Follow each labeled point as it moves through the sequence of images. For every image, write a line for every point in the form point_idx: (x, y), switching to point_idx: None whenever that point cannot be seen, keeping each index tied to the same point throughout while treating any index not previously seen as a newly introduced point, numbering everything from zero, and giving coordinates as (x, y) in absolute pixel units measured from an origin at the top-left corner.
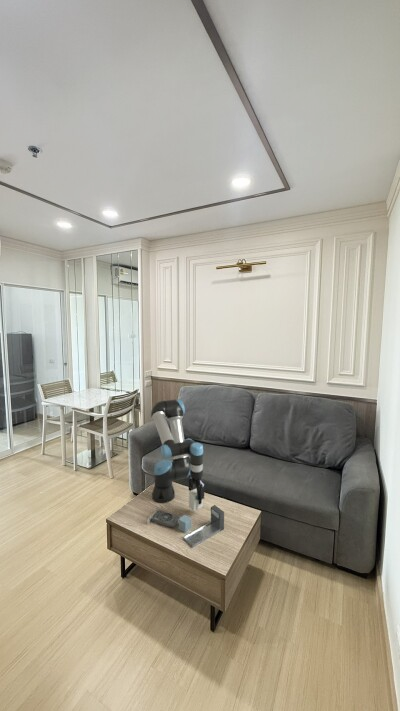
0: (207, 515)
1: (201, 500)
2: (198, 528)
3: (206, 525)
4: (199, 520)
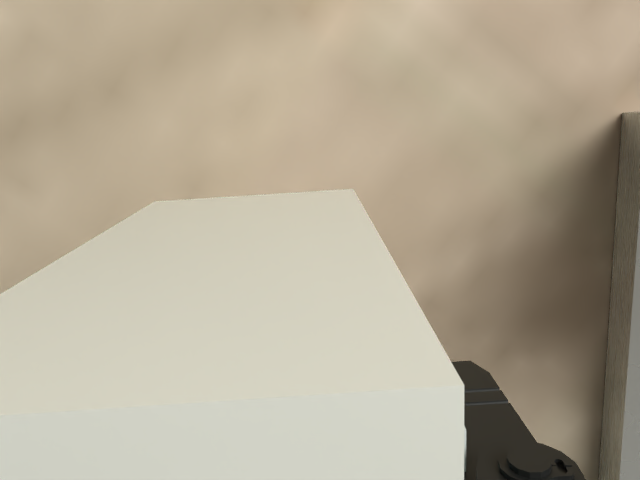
0: (414, 121)
1: (521, 430)
2: (626, 460)
3: (636, 308)
4: (434, 305)
